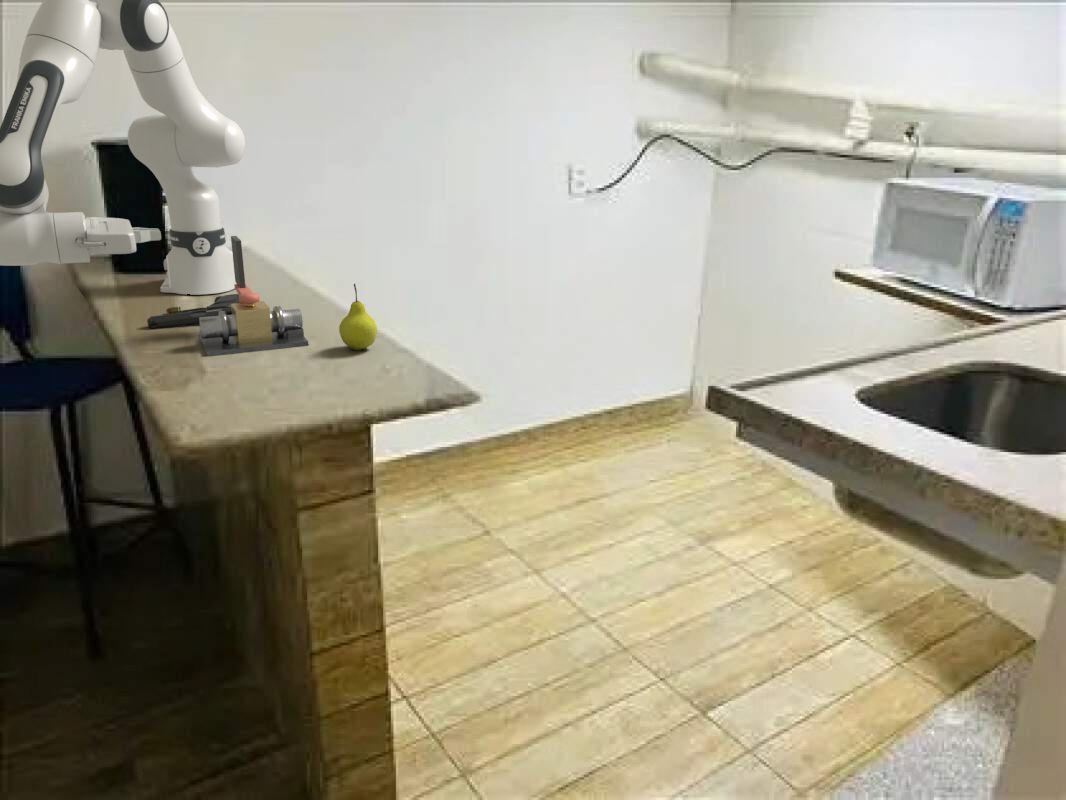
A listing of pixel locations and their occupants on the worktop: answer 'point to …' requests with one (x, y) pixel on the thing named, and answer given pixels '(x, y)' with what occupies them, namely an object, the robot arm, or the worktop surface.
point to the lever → (241, 274)
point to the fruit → (358, 327)
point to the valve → (251, 329)
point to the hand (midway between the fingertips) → (160, 234)
